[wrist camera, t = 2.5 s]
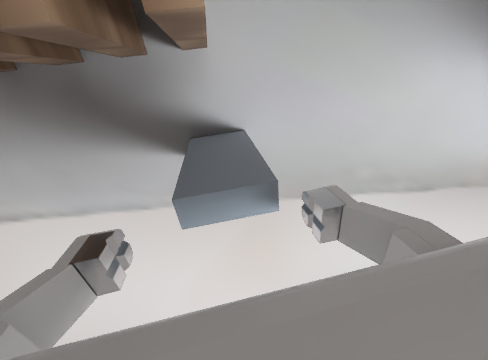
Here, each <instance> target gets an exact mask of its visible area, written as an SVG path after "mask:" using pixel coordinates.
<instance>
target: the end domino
mask: <svg viewBox="0 0 488 360" xmlns="http://www.w3.org/2000/svg"><path fill="white" fill-rule="evenodd" d="M172 202H173V205H174V208H175V210H176V213H177V216H178V219H179V222H180V224H181V227H182V229H188V228H193V227H198V226H203V225H208V224H213V223H218V222H224V221H229V220H234V219H239V218H244V217H249V216H255V215H260V214H265V213H270V212H275V211H279V198H278V180H277V179H276V177H275V176H274V174H273V173H272V171H271V170H270V168H269V167H268V165H267V164H266V162H265V161H264V159H263V157H262V156H261V154H260V153H259V151H258V150H257V148H256V147H255V145H254V144H253V142H252V141H251V139H250V138H249V136H248V135H247V133H246V132H245V130H243V131H236V132H230V133H223V134H217V135H211V136H204V137H198V138H191V139H190V141H189V144H188V147H187V151H186V154H185V157H184V161H183V164H182V167H181V171H180V174H179V178H178V181H177V184H176V188H175V191H174V194H173V198H172Z"/></svg>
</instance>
